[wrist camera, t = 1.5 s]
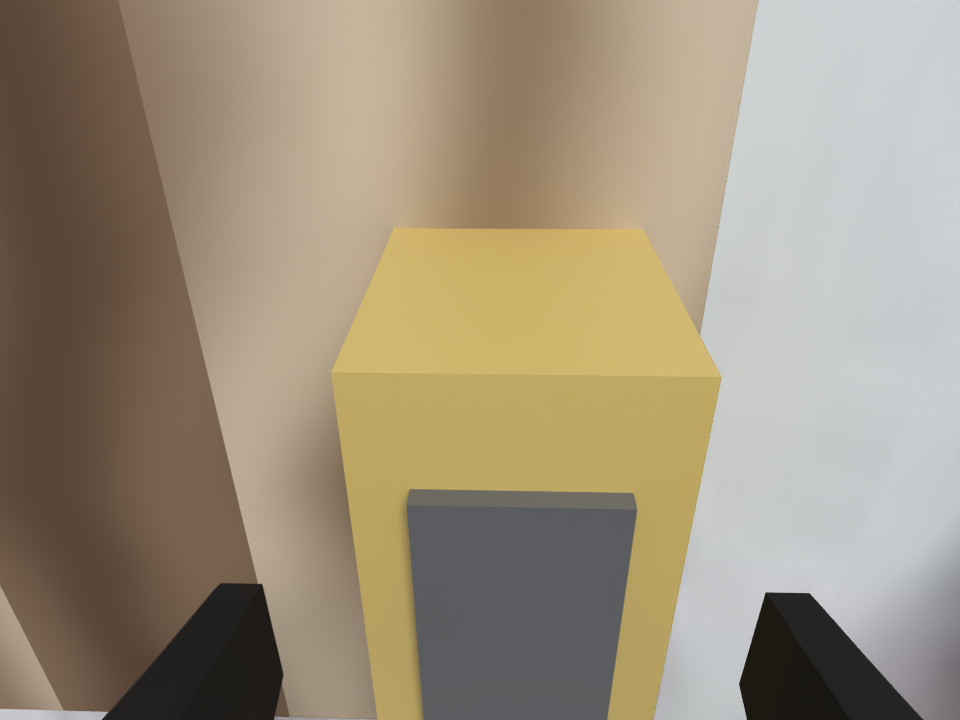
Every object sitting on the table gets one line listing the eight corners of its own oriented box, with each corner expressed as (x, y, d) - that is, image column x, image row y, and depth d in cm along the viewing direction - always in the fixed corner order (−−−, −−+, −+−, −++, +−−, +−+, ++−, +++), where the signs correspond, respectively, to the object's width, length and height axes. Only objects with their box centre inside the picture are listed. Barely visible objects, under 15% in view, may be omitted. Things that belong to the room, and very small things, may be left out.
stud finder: (643, 229, 12) (729, 391, 7) (601, 588, 16) (638, 828, 12) (393, 227, 12) (324, 386, 7) (419, 584, 17) (386, 820, 12)
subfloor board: (771, -156, 10) (787, -163, 9) (628, 706, 20) (631, 726, 19) (-500, -140, 10) (-553, -146, 10) (-14, 688, 20) (-28, 707, 20)
